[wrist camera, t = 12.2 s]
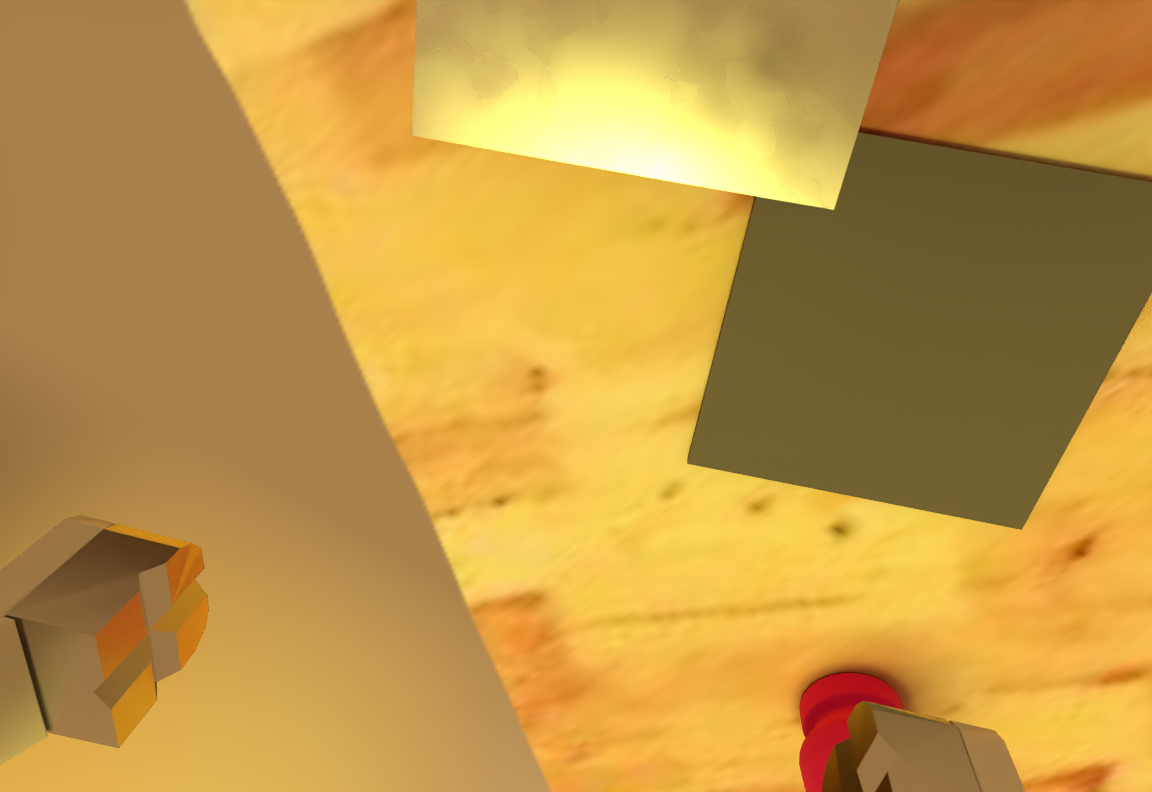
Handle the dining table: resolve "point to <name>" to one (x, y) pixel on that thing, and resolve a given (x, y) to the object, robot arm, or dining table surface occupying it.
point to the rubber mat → (926, 328)
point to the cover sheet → (657, 86)
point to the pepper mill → (834, 717)
